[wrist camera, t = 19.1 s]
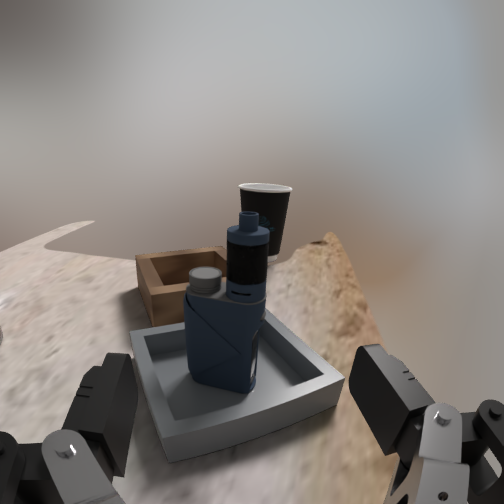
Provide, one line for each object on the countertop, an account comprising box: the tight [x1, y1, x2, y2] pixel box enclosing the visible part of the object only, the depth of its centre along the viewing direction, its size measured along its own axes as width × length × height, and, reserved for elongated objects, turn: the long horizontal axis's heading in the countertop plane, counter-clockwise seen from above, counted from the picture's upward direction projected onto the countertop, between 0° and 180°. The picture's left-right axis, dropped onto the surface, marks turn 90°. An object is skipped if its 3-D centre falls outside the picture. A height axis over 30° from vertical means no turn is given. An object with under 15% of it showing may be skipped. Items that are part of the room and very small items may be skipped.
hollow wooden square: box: [135, 246, 257, 327], centre depth 33 cm, size 11×11×4 cm
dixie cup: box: [238, 183, 292, 262], centre depth 47 cm, size 8×8×11 cm
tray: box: [129, 308, 345, 463], centre depth 21 cm, size 12×11×3 cm
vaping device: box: [183, 212, 269, 394], centre depth 19 cm, size 3×5×12 cm, turn 75°
